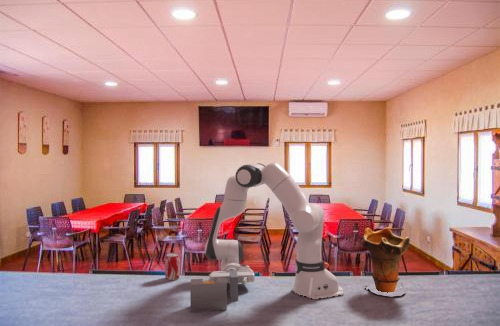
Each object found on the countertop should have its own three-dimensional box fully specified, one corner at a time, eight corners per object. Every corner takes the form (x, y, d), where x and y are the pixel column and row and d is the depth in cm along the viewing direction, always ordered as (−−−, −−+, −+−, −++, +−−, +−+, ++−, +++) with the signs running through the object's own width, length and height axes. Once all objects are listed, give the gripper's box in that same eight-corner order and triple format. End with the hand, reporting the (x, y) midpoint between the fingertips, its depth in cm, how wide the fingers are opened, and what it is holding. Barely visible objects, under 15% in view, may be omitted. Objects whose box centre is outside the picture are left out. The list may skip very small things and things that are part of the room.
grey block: (236, 293, 163) (236, 270, 162) (238, 300, 155) (238, 277, 155) (229, 293, 162) (229, 271, 162) (230, 300, 155) (231, 277, 154)
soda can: (176, 281, 177) (176, 257, 176) (162, 280, 178) (162, 256, 178) (182, 276, 184) (181, 253, 183) (168, 275, 185) (168, 252, 185)
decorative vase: (382, 303, 152) (381, 235, 152) (352, 286, 174) (351, 226, 174) (424, 297, 158) (423, 232, 158) (389, 281, 180) (388, 224, 180)
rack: (225, 303, 151) (225, 276, 151) (226, 310, 145) (226, 281, 145) (190, 305, 149) (190, 277, 149) (190, 312, 143) (190, 283, 143)
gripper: (208, 267, 172) (209, 277, 158) (252, 265, 175) (256, 275, 161) (208, 280, 172) (209, 291, 158) (252, 278, 175) (256, 289, 161)
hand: (233, 283), depth 160 cm, fingers open, 8 cm apart
